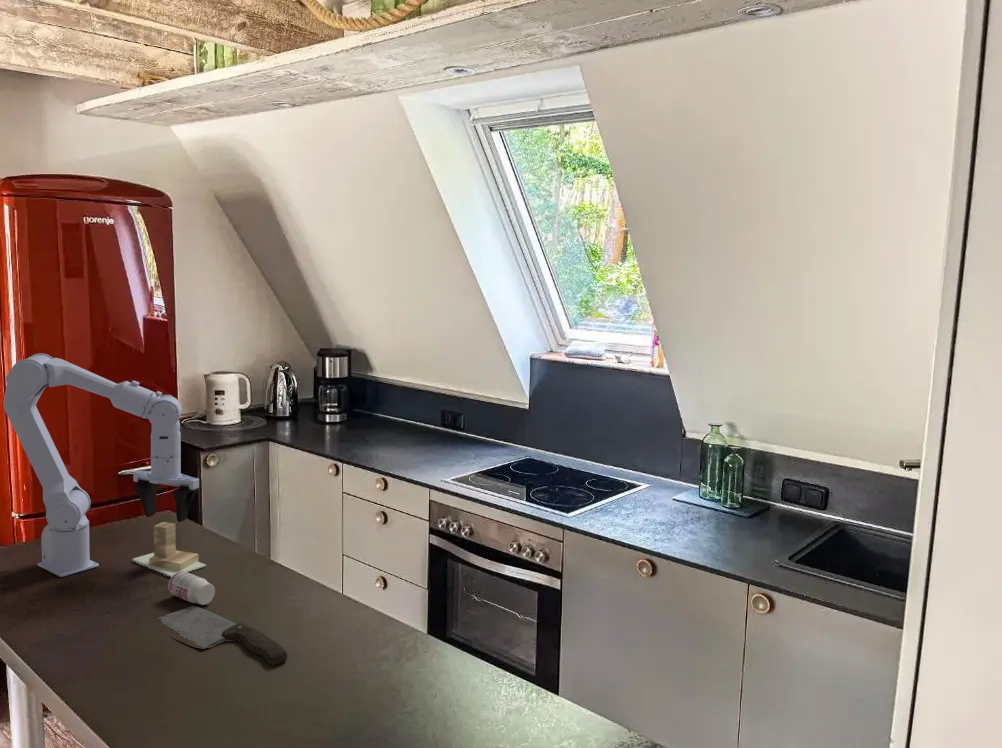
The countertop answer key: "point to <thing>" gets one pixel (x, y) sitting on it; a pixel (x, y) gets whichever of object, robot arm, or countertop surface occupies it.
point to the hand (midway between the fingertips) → (166, 518)
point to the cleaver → (222, 632)
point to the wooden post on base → (169, 549)
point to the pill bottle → (191, 588)
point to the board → (169, 572)
